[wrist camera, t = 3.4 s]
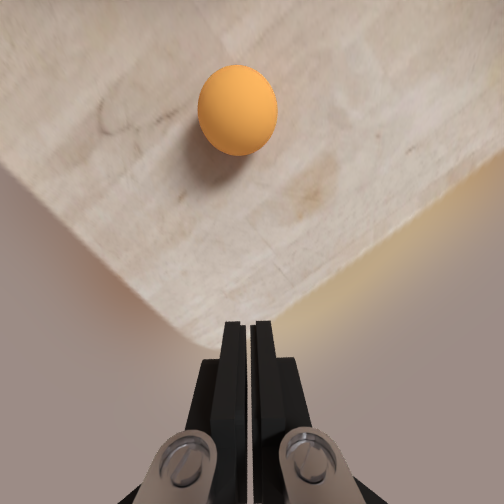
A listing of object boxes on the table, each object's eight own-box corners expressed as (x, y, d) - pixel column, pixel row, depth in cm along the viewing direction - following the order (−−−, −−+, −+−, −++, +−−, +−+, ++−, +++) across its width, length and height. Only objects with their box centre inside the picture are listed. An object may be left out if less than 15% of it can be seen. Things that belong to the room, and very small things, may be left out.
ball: (206, 157, 19) (194, 154, 15) (201, 81, 18) (185, 49, 13) (272, 156, 19) (282, 152, 15) (273, 80, 18) (283, 48, 13)
